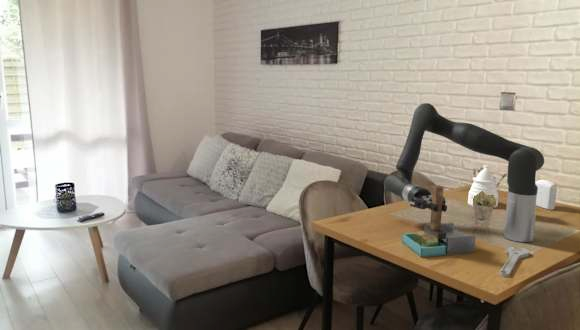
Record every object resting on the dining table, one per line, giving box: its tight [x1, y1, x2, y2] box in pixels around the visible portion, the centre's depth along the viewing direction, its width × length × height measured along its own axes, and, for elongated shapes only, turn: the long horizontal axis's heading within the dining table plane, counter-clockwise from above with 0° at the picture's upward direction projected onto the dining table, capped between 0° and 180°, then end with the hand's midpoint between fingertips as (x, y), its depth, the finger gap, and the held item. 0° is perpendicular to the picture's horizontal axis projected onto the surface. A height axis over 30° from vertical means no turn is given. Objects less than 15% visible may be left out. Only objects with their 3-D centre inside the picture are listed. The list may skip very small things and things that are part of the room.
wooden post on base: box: [423, 185, 446, 239], centre depth 150 cm, size 3×9×17 cm, turn 12°
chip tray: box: [401, 232, 447, 258], centre depth 152 cm, size 9×14×3 cm, turn 12°
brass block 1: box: [414, 230, 430, 246], centre depth 154 cm, size 4×4×4 cm
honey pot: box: [467, 164, 499, 208], centre depth 205 cm, size 13×13×18 cm
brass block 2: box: [421, 235, 438, 248], centre depth 149 cm, size 4×4×4 cm
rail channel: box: [426, 222, 476, 256], centre depth 153 cm, size 10×14×6 cm
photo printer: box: [535, 179, 558, 211], centre depth 201 cm, size 10×4×12 cm, turn 13°
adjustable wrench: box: [499, 246, 530, 278], centre depth 141 cm, size 25×6×2 cm, turn 139°
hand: (441, 208), depth 147 cm, fingers closed on wooden post on base, 2 cm apart
